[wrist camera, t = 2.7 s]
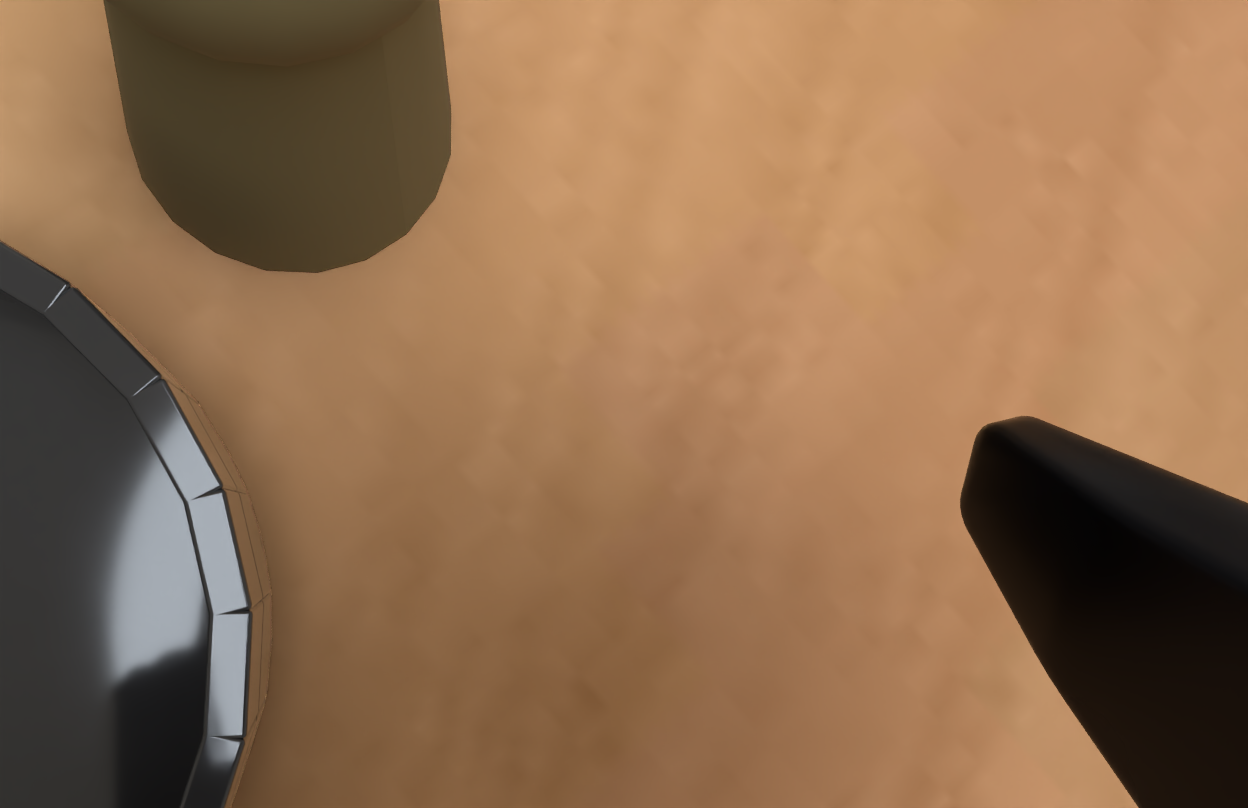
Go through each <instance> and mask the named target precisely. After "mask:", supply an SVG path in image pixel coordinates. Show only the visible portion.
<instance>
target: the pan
mask: <svg viewBox="0 0 1248 808" xmlns="http://www.w3.org/2000/svg"><path fill="white" fill-rule="evenodd" d="M271 649H272V595H271V584H270V579H269V572H268V566H267V560H266V553H265V547H264V541H263V538H262V535H261V532H260V528H259V525H258V522H257V519H256V515H255V512H254V509H253V505H252V502H251V498H250V496H249V493H248V490H247V488H246V486H245V484H244V482H243V480H242V478H241V476H240V474H239V472H238V470H237V467H236V465H235V463H234V461H233V459H232V457H231V455H230V452H229V450H228V449H227V447H226V446H225V444H224V443H223V441H222V440H221V438H220V436H219V435H218V433H217V432H216V430H215V429H214V427H213V426H212V424H211V422H210V421H209V419H208V417H207V415H206V413H205V412H204V410H203V408H202V407H201V406H199V402H198V401H197V400H196V399H195V398H194V397H193V396H192V395H191V394H190V393H189V392H188V391H187V390H186V389H185V388H184V387H183V386H182V385H181V384H180V383H179V382H178V381H177V380H176V378H175V377H174V376H173V375H172V374H171V373H170V371H169V370H167V369H166V368H165V367H164V366H163V365H162V364H161V363H160V362H159V361H158V360H157V359H156V358H155V357H154V356H153V355H152V354H151V353H150V352H149V351H148V350H147V349H146V348H145V347H144V346H143V345H142V344H141V343H140V342H139V341H138V340H137V339H136V338H135V337H134V336H133V335H132V334H131V333H130V332H129V331H128V330H127V329H126V328H124V327H123V326H122V325H121V324H120V323H119V322H117V321H116V320H115V319H114V318H113V317H111V316H110V315H109V314H108V313H107V312H105V311H104V310H103V309H102V308H100V307H99V306H98V305H97V304H96V303H94V302H93V301H92V300H91V299H90V298H88V297H87V296H86V295H85V294H84V293H83V292H81V291H80V290H79V289H78V288H76V287H75V286H74V285H72V284H71V283H70V282H69V281H67V280H65V279H64V278H62V277H60V276H59V275H57V274H55V273H54V272H52V271H50V270H49V269H47V268H45V267H44V266H42V265H40V264H39V263H37V262H35V261H34V260H32V259H30V258H29V257H27V256H25V255H24V254H22V253H20V252H19V251H17V250H15V249H14V248H12V247H10V246H9V245H7V244H5V243H4V242H2V241H0V808H231V806H232V804H233V801H234V799H235V797H236V794H237V790H238V787H239V784H240V781H241V778H242V775H243V772H244V769H245V765H246V762H247V759H248V756H249V753H250V751H251V748H252V745H253V743H254V740H255V736H256V732H257V728H258V725H259V722H260V718H261V715H262V712H263V709H264V706H265V703H266V695H267V693H268V675H269V666H270V658H271Z"/></svg>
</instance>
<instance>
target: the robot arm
mask: <svg viewBox="0 0 1248 808" xmlns="http://www.w3.org/2000/svg"><path fill="white" fill-rule="evenodd" d="M960 508H961V514H962V518H963V521H964V524H965V526H966V528H967V530H968V532H969V534H970V536H971V537H972V539H973V541H974V543H975V545H976V547H977V548H978V550H979V552H980V554H981V556H982V557H983V559H984V561H985V563H986V565H987V567H988V568H989V570H990V572H991V574H992V576H993V577H994V579H995V581H996V583H997V585H998V587H999V588H1000V590H1001V592H1002V594H1003V596H1004V598H1005V599H1006V601H1007V603H1008V605H1009V607H1010V608H1011V610H1012V612H1013V614H1014V616H1015V618H1016V619H1017V621H1018V623H1019V625H1020V627H1021V628H1022V630H1023V632H1024V634H1025V636H1026V638H1027V639H1028V641H1029V643H1030V645H1031V647H1032V648H1033V650H1034V652H1035V654H1036V655H1037V657H1038V659H1039V660H1040V662H1041V664H1042V666H1043V667H1044V669H1045V671H1046V672H1047V674H1048V676H1049V677H1050V679H1051V680H1052V682H1053V683H1054V685H1055V686H1056V688H1057V689H1058V691H1059V693H1060V694H1061V696H1062V697H1063V699H1064V700H1065V702H1066V703H1067V705H1068V706H1069V707H1070V709H1071V710H1072V712H1073V713H1074V715H1075V716H1076V718H1077V719H1078V720H1079V722H1080V723H1081V725H1082V726H1083V728H1084V729H1085V731H1086V732H1087V734H1088V735H1089V736H1090V738H1091V739H1092V741H1093V742H1094V744H1095V745H1096V747H1097V748H1098V749H1099V751H1100V752H1101V754H1102V755H1103V757H1104V758H1105V760H1106V761H1107V762H1108V764H1109V765H1110V767H1111V768H1112V770H1113V771H1114V773H1115V774H1116V776H1117V777H1118V778H1119V780H1120V781H1121V783H1122V784H1123V786H1124V787H1125V789H1126V790H1127V791H1128V793H1129V794H1130V796H1131V797H1132V799H1133V800H1134V802H1135V803H1136V804H1137V806H1138V807H1139V808H1248V503H1246V502H1244V501H1241V500H1239V499H1236V498H1234V497H1231V496H1229V495H1226V494H1224V493H1221V492H1219V491H1216V490H1214V489H1211V488H1209V487H1206V486H1204V485H1201V484H1199V483H1196V482H1194V481H1191V480H1189V479H1186V478H1184V477H1181V476H1179V475H1176V474H1174V473H1171V472H1169V471H1167V470H1164V469H1162V468H1159V467H1157V466H1154V465H1152V464H1149V463H1147V462H1144V461H1142V460H1139V459H1137V458H1134V457H1132V456H1129V455H1127V454H1124V453H1122V452H1119V451H1117V450H1114V449H1112V448H1109V447H1107V446H1104V445H1102V444H1099V443H1097V442H1094V441H1092V440H1090V439H1087V438H1085V437H1082V436H1080V435H1077V434H1075V433H1072V432H1070V431H1067V430H1065V429H1062V428H1060V427H1057V426H1055V425H1052V424H1050V423H1047V422H1045V421H1042V420H1040V419H1037V418H1034V417H1030V416H1019V417H1015V418H1011V419H1007V420H1002V421H998V422H994V423H990V424H987V425H986V426H984V427H983V428H982V429H981V430H980V431H979V432H978V434H977V436H976V438H975V441H974V445H973V449H972V453H971V457H970V461H969V465H968V469H967V473H966V477H965V481H964V484H963V488H962V492H961V498H960Z"/></svg>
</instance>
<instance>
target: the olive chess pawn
mask: <svg viewBox="0 0 1248 808" xmlns="http://www.w3.org/2000/svg"><path fill="white" fill-rule="evenodd" d="M104 6H105V11H106V17H107V22H108V28H109V33H110V39H111V44H112V50H113V56H114V61H115V67H116V72H117V78H118V83H119V89H120V94H121V100H122V105H123V111H124V116H125V122H126V128H127V132H128V136H129V139H130V142H131V145H132V148H133V151H134V155H135V158H136V161H137V164H138V167H139V171H140V174H141V177H142V180H143V181H144V182H145V184H146V185H147V187H148V188H149V189H150V191H151V192H152V193H153V195H154V196H155V197H156V199H157V200H158V202H159V203H160V204H161V206H162V207H163V208H164V210H165V211H166V213H167V214H168V215H169V217H170V218H171V219H172V221H173V222H175V223H176V224H177V225H179V226H180V227H181V228H183V229H184V230H185V231H187V232H188V233H190V234H191V235H192V236H194V237H195V238H196V239H198V240H199V241H200V242H202V243H203V244H205V245H206V246H207V247H209V248H210V249H211V250H213V251H214V252H215V253H218V254H221V255H224V256H227V257H230V258H232V259H235V260H238V261H241V262H244V263H247V264H250V265H252V266H255V267H258V268H261V269H264V270H274V271H296V272H321V271H325V270H329V269H333V268H336V267H340V266H344V265H348V264H352V263H356V262H359V261H363V260H366V259H368V258H369V257H371V256H373V255H374V254H376V253H377V252H379V251H380V250H382V249H384V248H385V247H387V246H388V245H390V244H391V243H393V242H395V241H396V240H398V239H399V238H401V237H402V236H404V235H406V234H407V233H408V231H409V230H410V229H411V228H412V226H413V225H414V224H415V223H416V221H417V220H418V219H419V218H420V216H421V215H422V214H423V213H424V211H425V210H426V209H427V208H428V206H429V205H430V204H431V203H432V201H433V200H434V199H435V198H436V195H437V192H438V189H439V186H440V183H441V181H442V178H443V175H444V172H445V169H446V167H447V164H448V161H449V158H450V155H451V105H450V96H449V87H448V78H447V69H446V60H445V51H444V42H443V33H442V24H441V15H440V6H439V0H104Z"/></svg>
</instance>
